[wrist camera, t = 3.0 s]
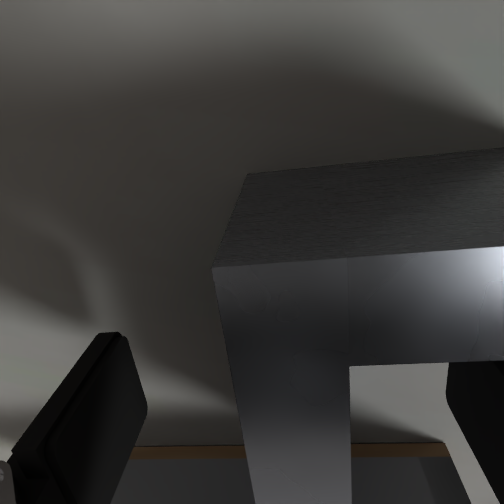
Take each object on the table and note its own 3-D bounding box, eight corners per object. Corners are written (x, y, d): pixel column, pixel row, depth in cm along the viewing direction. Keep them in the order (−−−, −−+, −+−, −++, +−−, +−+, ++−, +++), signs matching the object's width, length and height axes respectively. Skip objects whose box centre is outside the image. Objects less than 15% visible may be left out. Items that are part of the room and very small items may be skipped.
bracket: (247, 173, 11) (211, 267, 6) (541, 143, 10) (841, 222, 5) (278, 418, 15) (275, 608, 10) (489, 413, 14) (616, 622, 9)
